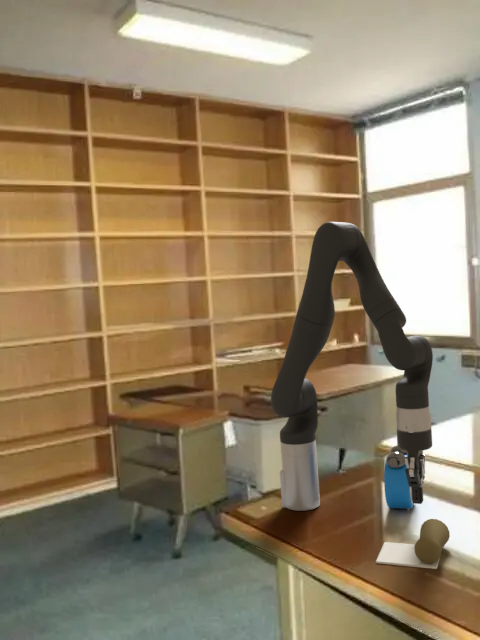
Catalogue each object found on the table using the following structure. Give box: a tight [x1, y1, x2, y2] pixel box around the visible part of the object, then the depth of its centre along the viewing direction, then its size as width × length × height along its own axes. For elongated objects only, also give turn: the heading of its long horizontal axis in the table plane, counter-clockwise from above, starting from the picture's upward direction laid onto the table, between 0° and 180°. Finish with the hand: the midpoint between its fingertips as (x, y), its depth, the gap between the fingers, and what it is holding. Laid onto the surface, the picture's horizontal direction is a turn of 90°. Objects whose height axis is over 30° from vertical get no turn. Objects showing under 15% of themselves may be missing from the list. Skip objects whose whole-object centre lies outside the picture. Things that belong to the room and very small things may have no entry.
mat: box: [375, 541, 443, 570], centre depth 136 cm, size 12×10×1 cm
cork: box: [414, 518, 451, 564], centre depth 134 cm, size 6×6×11 cm
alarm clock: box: [383, 444, 415, 512], centre depth 163 cm, size 13×6×15 cm, turn 159°
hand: (417, 502), depth 146 cm, fingers closed
